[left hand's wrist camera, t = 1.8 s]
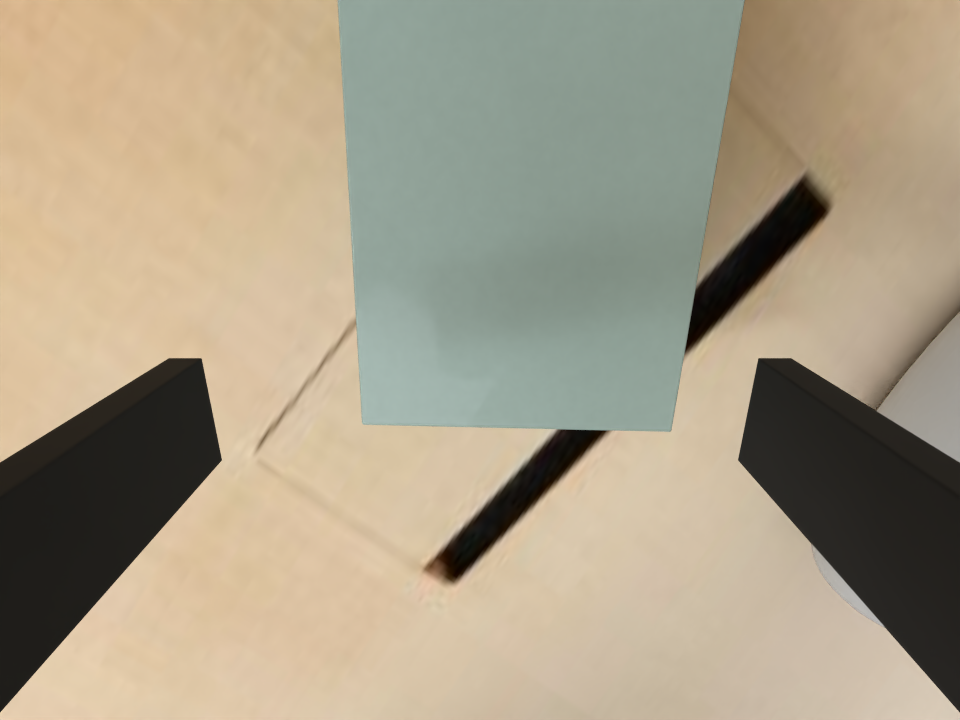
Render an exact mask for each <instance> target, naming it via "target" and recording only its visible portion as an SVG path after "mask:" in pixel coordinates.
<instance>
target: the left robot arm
mask: <svg viewBox="0 0 960 720" xmlns="http://www.w3.org/2000/svg"><path fill="white" fill-rule="evenodd" d="M221 461H222V458H221V453H220V448H219V443H218V438H217V433H216V428H215V423H214V418H213V413H212V408H211V403H210V398H209V393H208V388H207V384H206V379H205V374H204V369H203V364H202V359H201V358H169V359H167V360H166V361H164V362H162V363H161V364H159V365H158V366H156V367H154V368H153V369H151V370H149V371H148V372H146V373H145V374H143V375H141V376H140V377H138V378H136V379H135V380H133V381H132V382H130V383H128V384H127V385H125V386H123V387H122V388H120V389H119V390H117V391H115V392H114V393H112V394H111V395H109V396H107V397H106V398H104V399H102V400H101V401H99V402H98V403H96V404H94V405H93V406H91V407H89V408H88V409H86V410H85V411H83V412H81V413H80V414H78V415H76V416H75V417H73V418H72V419H70V420H68V421H67V422H65V423H64V424H62V425H60V426H59V427H57V428H55V429H54V430H52V431H51V432H49V433H47V434H46V435H44V436H42V437H41V438H39V439H38V440H36V441H34V442H33V443H31V444H30V445H28V446H26V447H25V448H23V449H21V450H20V451H18V452H17V453H15V454H13V455H12V456H10V457H8V458H7V459H5V460H4V461H2V462H0V712H1V711H2V710H3V709H4V707H5V706H6V705H7V704H8V703H9V702H10V701H11V699H12V698H13V697H14V696H15V695H16V694H17V693H18V691H19V690H20V689H21V688H22V687H23V686H24V685H25V684H26V682H27V681H28V680H29V679H30V678H31V677H32V676H33V674H34V673H35V672H36V671H37V670H38V669H39V668H40V666H41V665H42V664H43V663H44V662H45V661H46V660H47V658H48V657H49V656H50V655H51V654H52V653H53V652H54V651H55V649H56V648H57V647H58V646H59V645H60V644H61V643H62V641H63V640H64V639H65V638H66V637H67V636H68V635H69V633H70V632H71V631H72V630H73V629H74V628H75V627H76V625H77V624H78V623H79V622H80V621H81V620H82V619H83V618H84V616H85V615H86V614H87V613H88V612H89V611H90V610H91V608H92V607H93V606H94V605H95V604H96V603H97V602H98V600H99V599H100V598H101V597H102V596H103V595H104V594H105V593H106V591H107V590H108V589H109V588H110V587H111V586H112V585H113V583H114V582H115V581H116V580H117V579H118V578H119V577H120V575H121V574H122V573H123V572H124V571H125V570H126V569H127V567H128V566H129V565H130V564H131V563H132V562H133V561H134V560H135V558H136V557H137V556H138V555H139V554H140V553H141V552H142V550H143V549H144V548H145V547H146V546H147V545H148V544H149V542H150V541H151V540H152V539H153V538H154V537H155V536H156V534H157V533H158V532H159V531H160V530H161V529H162V528H163V527H164V525H165V524H166V523H167V522H168V521H169V520H170V519H171V517H172V516H173V515H174V514H175V513H176V512H177V511H178V509H179V508H180V507H181V506H182V505H183V504H184V503H185V501H186V500H187V499H188V498H189V497H190V496H191V495H192V494H193V492H194V491H195V490H196V489H197V488H198V487H199V486H200V484H201V483H202V482H203V481H204V480H205V479H206V478H207V476H208V475H209V474H210V473H211V472H212V471H213V470H214V469H215V467H216V466H217V465H218V464H219V463H220V462H221ZM738 461H739V462H740V463H741V464H742V465H743V466H744V467H745V469H746V470H747V471H748V472H749V473H750V474H751V475H752V476H753V478H754V479H755V480H756V481H757V482H758V483H759V484H760V486H761V487H762V488H763V489H764V490H765V491H766V492H767V494H768V495H769V496H770V497H771V498H772V499H773V500H774V501H775V503H776V504H777V505H778V506H779V507H780V508H781V509H782V511H783V512H784V513H785V514H786V515H787V516H788V517H789V519H790V520H791V521H792V522H793V523H794V524H795V525H796V527H797V528H798V529H799V530H800V531H801V532H802V533H803V534H804V536H805V537H806V538H807V539H808V540H809V541H810V542H811V544H812V545H813V546H814V547H815V548H816V549H817V550H818V552H819V553H820V554H821V555H822V556H823V557H824V558H825V560H826V561H827V562H828V563H829V564H830V565H831V566H832V567H833V569H834V570H835V571H836V572H837V573H838V574H839V575H840V577H841V578H842V579H843V580H844V581H845V582H846V583H847V585H848V586H849V587H850V588H851V589H852V590H853V591H854V593H855V594H856V595H857V596H858V597H859V598H860V599H861V600H862V602H863V603H864V604H865V605H866V606H867V607H868V608H869V610H870V611H871V612H872V613H873V614H874V615H875V616H876V618H877V619H878V620H879V621H880V622H881V623H882V624H883V626H884V627H885V628H886V629H887V630H888V631H889V632H890V633H891V635H892V636H893V637H894V638H895V639H896V640H897V641H898V643H899V644H900V645H901V646H902V647H903V648H904V649H905V651H906V652H907V653H908V654H909V655H910V656H911V657H912V658H913V660H914V661H915V662H916V663H917V664H918V665H919V666H920V668H921V669H922V670H923V671H924V672H925V673H926V674H927V676H928V677H929V678H930V679H931V680H932V681H933V682H934V684H935V685H936V686H937V687H938V688H939V689H940V690H941V691H942V693H943V694H944V695H945V696H946V697H947V698H948V699H949V701H950V702H951V703H952V704H953V705H954V706H955V707H956V709H957V710H958V711H959V712H960V462H958V461H956V460H955V459H953V458H952V457H950V456H948V455H947V454H945V453H943V452H942V451H940V450H939V449H937V448H935V447H934V446H932V445H930V444H929V443H927V442H926V441H924V440H922V439H921V438H919V437H918V436H916V435H914V434H913V433H911V432H909V431H908V430H906V429H905V428H903V427H901V426H900V425H898V424H896V423H895V422H893V421H892V420H890V419H888V418H887V417H885V416H884V415H882V414H880V413H879V412H877V411H875V410H874V409H872V408H871V407H869V406H867V405H866V404H864V403H862V402H861V401H859V400H858V399H856V398H854V397H853V396H851V395H849V394H848V393H846V392H845V391H843V390H841V389H840V388H838V387H837V386H835V385H833V384H832V383H830V382H828V381H827V380H825V379H824V378H822V377H820V376H819V375H817V374H815V373H814V372H812V371H811V370H809V369H807V368H806V367H804V366H802V365H801V364H799V363H798V362H796V361H794V360H793V359H791V358H759V359H758V364H757V369H756V374H755V379H754V384H753V388H752V393H751V398H750V403H749V408H748V413H747V418H746V423H745V428H744V433H743V438H742V443H741V448H740V453H739V458H738Z"/></svg>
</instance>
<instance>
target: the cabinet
mask: <svg viewBox="0 0 960 720" xmlns="http://www.w3.org/2000/svg"><path fill="white" fill-rule="evenodd" d="M744 1H745V0H338V14H339V31H340V49H341V66H342V83H343V101H344V118H345V135H346V152H347V170H348V187H349V204H350V222H351V239H352V256H353V273H354V291H355V308H356V325H357V343H358V360H359V377H360V394H361V412H362V423H363V424H364V425H404V426H447V427H491V428H534V429H578V430H621V431H665V432H670V431H671V429H672V423H673V417H674V411H675V405H676V399H677V394H678V388H679V382H680V376H681V370H682V364H683V359H684V353H685V347H686V341H687V335H688V329H689V323H690V318H691V312H692V306H693V300H694V294H695V288H696V282H697V277H698V271H699V265H700V259H701V253H702V247H703V241H704V236H705V230H706V224H707V218H708V212H709V206H710V200H711V195H712V189H713V183H714V177H715V171H716V165H717V159H718V154H719V148H720V142H721V136H722V130H723V124H724V118H725V113H726V107H727V101H728V95H729V89H730V83H731V77H732V72H733V66H734V60H735V54H736V48H737V42H738V37H739V31H740V25H741V19H742V13H743V7H744Z"/></svg>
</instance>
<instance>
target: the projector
mask: <svg viewBox="0 0 960 720" xmlns="http://www.w3.org/2000/svg"><path fill="white" fill-rule="evenodd" d="M877 412H879V413H880V414H882V415H884V416H885V417H887V418H888V419H890V420H892V421H893V422H895V423H896V424H898V425H900V426H901V427H903V428H905V429H906V430H908V431H909V432H911V433H913V434H914V435H916V436H918V437H919V438H921V439H922V440H924V441H926V442H927V443H929V444H930V445H932V446H934V447H935V448H937V449H939V450H940V451H942V452H943V453H945V454H947V455H948V456H950V457H952V458H953V459H955V460H956V461H958V462H960V312H959V313H958V314H957V315H956V316H955V317H954V318H953V319H952V320H951V321H950V322H949V323H948V324H947V326H946V327H945V328H944V329H943V330H942V331H941V332H940V333H939V334H938V336H937V337H936V338H935V339H934V340H933V341H932V342H931V343H930V344H929V345H928V347H927V348H926V349H925V350H924V351H923V353H922V354H921V355H920V356H919V357H918V358H917V360H916V361H915V362H914V363H913V364H912V366H911V367H910V368H909V369H908V370H907V372H906V373H905V374H904V375H903V377H902V378H901V379H900V380H899V382H898V383H897V384H896V386H895V387H894V388H893V389H892V391H891V392H890V393H889V395H888V396H887V397H886V398H885V400H884V401H883V403H882V404H881V405H880V407H879V408H878V409H877ZM812 551H813V555H814V559H815V562H816V564H817V566H818V568H819V570H820V572H821V574H822V575H823V577H824V578H825V580H826V581H827V582H828V583H829V585H830V586H831V587H832V588H833V589H834V590H835V591H836V592H837V593H838V594H839V595H840V596H841V597H842V598H843V599H844V600H845V601H846V602H847V603H848V604H850V605H851V606H852V607H853V608H854V609H856V610H857V611H858V612H860V613H861V614H862V615H864V616H865V617H867V618H869V619H870V620H872V621H874V622H875V623H877V624H879V625H881V626H883V624H882V623H881V622H880V621H879V620H878V619H877V618H876V616H875V615H874V614H873V613H872V612H871V611H870V610H869V608H868V607H867V606H866V605H865V604H864V603H863V602H862V600H861V599H860V598H859V597H858V596H857V595H856V594H855V593H854V591H853V590H852V589H851V588H850V587H849V586H848V585H847V583H846V582H845V581H844V580H843V579H842V578H841V577H840V575H839V574H838V573H837V572H836V571H835V570H834V569H833V567H832V566H831V565H830V564H829V563H828V562H827V561H826V560H825V558H824V557H823V556H822V555H821V554H820V553H819V552H818V550H817V549H816V548H815V547H814V546H813V545H812ZM883 627H884V626H883Z"/></svg>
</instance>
